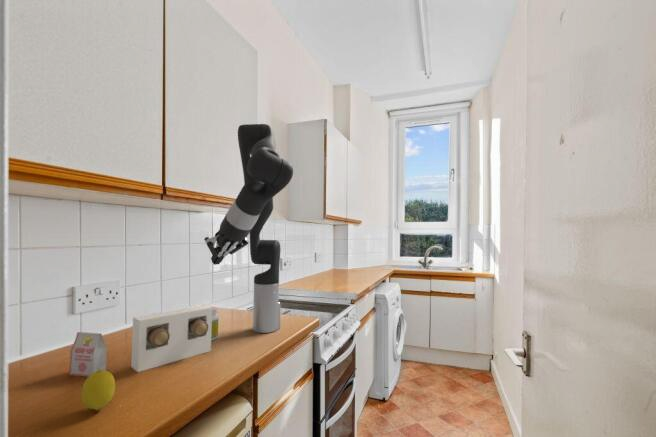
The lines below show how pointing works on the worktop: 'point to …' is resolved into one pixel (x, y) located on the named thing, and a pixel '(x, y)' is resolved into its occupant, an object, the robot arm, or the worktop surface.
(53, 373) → the worktop surface
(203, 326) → the knob
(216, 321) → the supplement bottle
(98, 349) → the white milk carton
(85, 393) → the lemon
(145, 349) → the panel
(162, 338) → the knob
